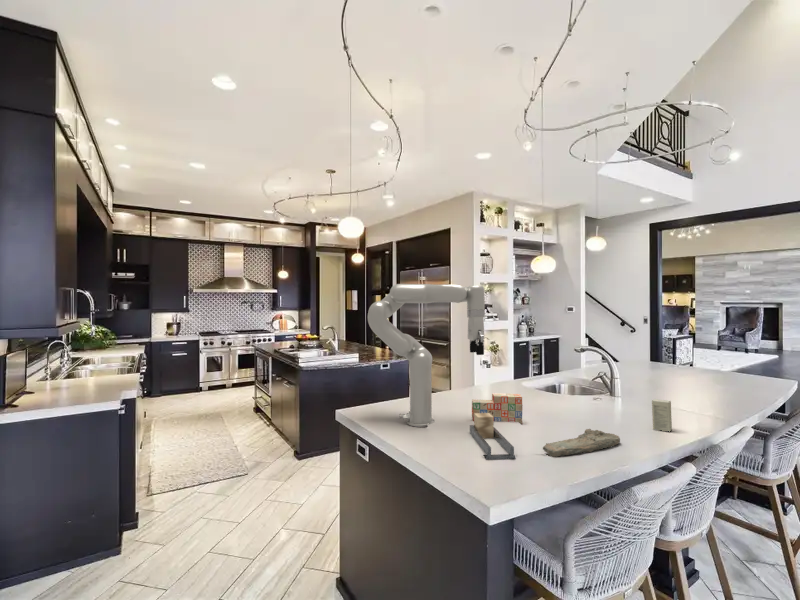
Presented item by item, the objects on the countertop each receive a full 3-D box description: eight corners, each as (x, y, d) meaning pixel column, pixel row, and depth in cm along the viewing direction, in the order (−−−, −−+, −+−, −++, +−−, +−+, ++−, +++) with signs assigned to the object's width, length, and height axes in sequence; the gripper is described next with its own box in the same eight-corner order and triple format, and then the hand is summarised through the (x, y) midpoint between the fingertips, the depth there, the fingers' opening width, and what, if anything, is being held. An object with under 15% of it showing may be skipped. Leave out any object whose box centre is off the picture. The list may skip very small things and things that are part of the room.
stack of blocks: (472, 423, 180) (472, 395, 181) (471, 419, 187) (471, 392, 187) (522, 425, 178) (522, 396, 178) (519, 420, 184) (519, 393, 185)
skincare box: (672, 430, 170) (671, 400, 170) (670, 432, 167) (669, 402, 167) (654, 427, 174) (654, 398, 175) (651, 429, 171) (651, 400, 171)
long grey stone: (535, 454, 146) (556, 466, 137) (535, 440, 146) (556, 450, 137) (604, 436, 161) (627, 445, 152) (604, 423, 161) (627, 431, 152)
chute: (486, 459, 137) (486, 447, 138) (468, 435, 163) (468, 425, 163) (515, 459, 138) (515, 447, 138) (493, 434, 164) (493, 424, 164)
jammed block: (478, 438, 156) (477, 417, 156) (474, 433, 162) (474, 413, 162) (493, 438, 157) (493, 417, 157) (489, 433, 163) (489, 412, 163)
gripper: (462, 313, 186) (463, 351, 186) (473, 314, 169) (473, 356, 169) (478, 313, 187) (479, 351, 187) (490, 314, 170) (491, 355, 169)
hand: (476, 353), depth 178 cm, fingers open, 9 cm apart
